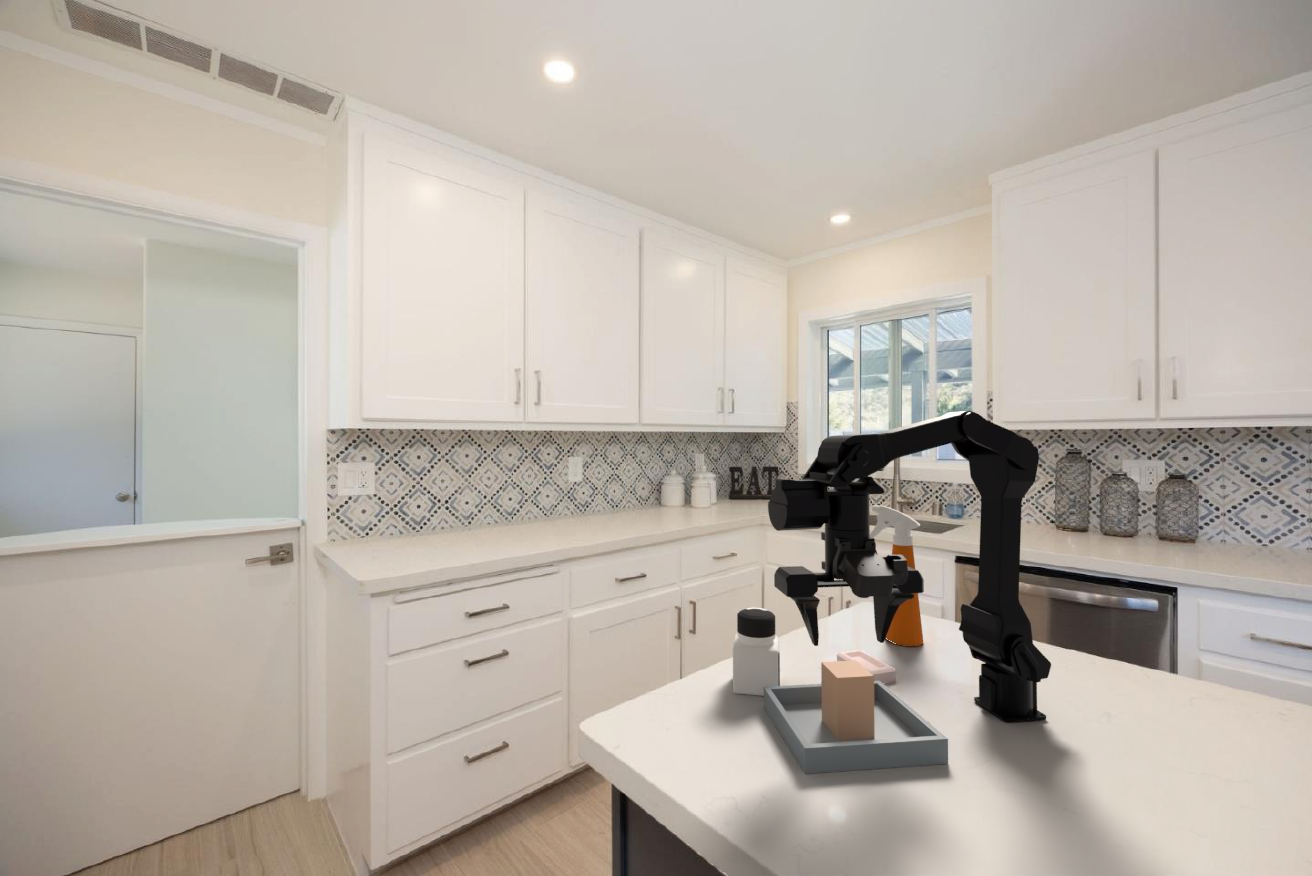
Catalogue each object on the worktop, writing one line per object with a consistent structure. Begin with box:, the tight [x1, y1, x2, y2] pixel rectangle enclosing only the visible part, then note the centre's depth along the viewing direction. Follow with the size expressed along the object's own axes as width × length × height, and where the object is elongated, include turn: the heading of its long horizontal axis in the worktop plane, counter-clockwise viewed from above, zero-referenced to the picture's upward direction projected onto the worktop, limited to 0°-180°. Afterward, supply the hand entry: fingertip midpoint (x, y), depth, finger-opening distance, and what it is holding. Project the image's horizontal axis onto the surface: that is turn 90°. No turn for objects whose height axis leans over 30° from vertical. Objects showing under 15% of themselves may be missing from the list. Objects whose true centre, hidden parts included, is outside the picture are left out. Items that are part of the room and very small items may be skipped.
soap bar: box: [836, 649, 897, 684], centre depth 91 cm, size 5×9×2 cm, turn 17°
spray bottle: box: [870, 504, 924, 647], centre depth 107 cm, size 7×11×26 cm, turn 55°
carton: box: [820, 660, 875, 740], centre depth 72 cm, size 5×5×8 cm
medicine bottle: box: [732, 607, 781, 697], centre depth 86 cm, size 7×7×12 cm
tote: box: [763, 681, 949, 775], centre depth 72 cm, size 18×16×3 cm
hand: (847, 643), depth 72 cm, fingers open, 9 cm apart
